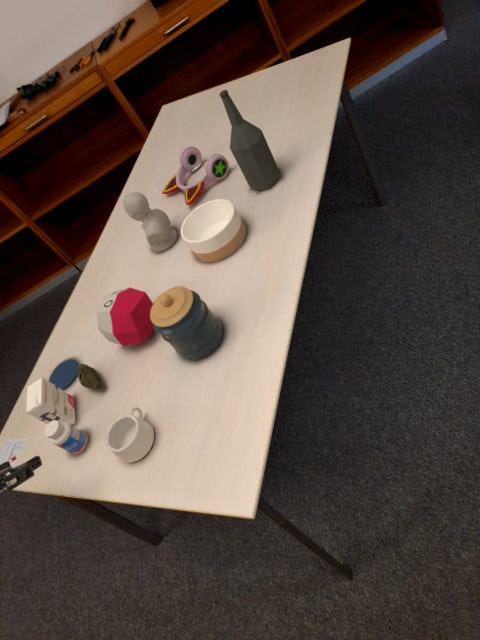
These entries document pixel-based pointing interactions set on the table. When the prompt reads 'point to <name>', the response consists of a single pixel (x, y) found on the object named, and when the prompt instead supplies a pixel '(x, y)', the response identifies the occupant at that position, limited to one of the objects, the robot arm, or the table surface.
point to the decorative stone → (89, 377)
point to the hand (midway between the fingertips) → (24, 462)
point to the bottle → (250, 149)
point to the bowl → (213, 230)
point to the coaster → (64, 374)
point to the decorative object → (125, 317)
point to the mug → (130, 437)
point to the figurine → (150, 221)
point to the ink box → (49, 403)
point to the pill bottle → (66, 436)
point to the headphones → (189, 160)
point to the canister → (186, 323)
